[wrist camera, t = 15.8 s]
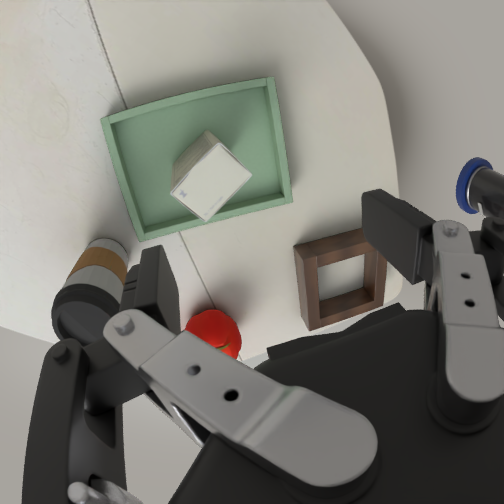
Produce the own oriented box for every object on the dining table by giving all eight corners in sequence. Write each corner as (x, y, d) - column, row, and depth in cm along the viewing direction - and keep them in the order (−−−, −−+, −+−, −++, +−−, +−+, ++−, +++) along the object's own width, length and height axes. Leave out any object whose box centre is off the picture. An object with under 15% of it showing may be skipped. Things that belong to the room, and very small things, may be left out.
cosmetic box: (196, 186, 39) (204, 226, 28) (170, 163, 37) (167, 195, 26) (233, 150, 38) (255, 176, 27) (207, 125, 35) (219, 141, 25)
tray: (267, 77, 35) (274, 76, 32) (286, 195, 43) (293, 202, 40) (105, 116, 33) (99, 119, 30) (141, 233, 41) (139, 242, 38)
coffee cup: (106, 291, 44) (88, 367, 31) (67, 252, 40) (33, 321, 27) (147, 262, 43) (139, 336, 30) (108, 217, 39) (80, 281, 26)
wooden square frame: (375, 224, 48) (388, 235, 45) (372, 292, 55) (383, 305, 52) (293, 246, 47) (302, 259, 43) (301, 316, 54) (309, 331, 51)
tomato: (231, 345, 54) (239, 377, 47) (179, 342, 51) (181, 376, 45) (242, 302, 50) (253, 334, 43) (185, 297, 47) (188, 331, 41)
